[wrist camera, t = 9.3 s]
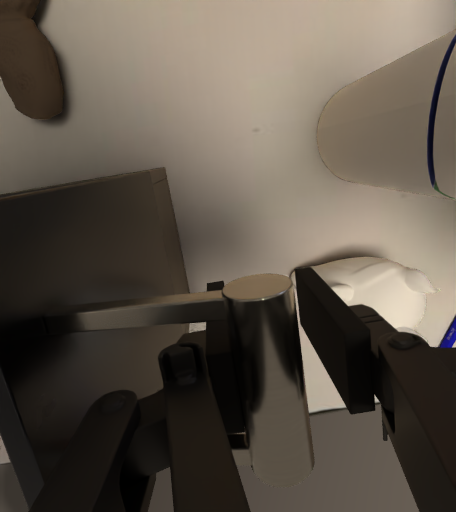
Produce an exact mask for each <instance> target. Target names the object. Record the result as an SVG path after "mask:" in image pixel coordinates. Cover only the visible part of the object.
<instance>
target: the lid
mask: <svg viewBox="0 0 456 512" xmlns="http://www.w3.org/2000/svg"><path fill="white" fill-rule="evenodd" d="M222 320H226V323H227V329H228V335H229V340H230V346H231V351H232V357H233V363H234V369H235V375H236V381H237V386H238V392H239V398H240V404H241V410H242V415H243V421H244V427H245V433H238V434H229V435H227V437H228V440H229V443H230V447H231V450H232V453H233V456H234V460H235V463H236V466H249V465H250V466H251V467H252V470H253V472H254V474H255V475H256V476H257V477H258V479H260V480H261V481H262V482H264V483H265V484H267V485H270V486H273V487H291V486H294V485H297V484H299V483H301V482H302V481H304V480H305V479H306V478H307V477H308V476H309V475H310V473H311V471H312V470H313V467H314V453H313V444H312V436H311V428H310V419H309V411H308V403H307V394H306V386H305V378H304V369H303V361H302V353H301V344H300V336H299V328H298V319H297V311H296V303H295V294H294V286H293V282H292V280H291V279H290V278H289V277H287V276H284V275H279V274H256V275H250V276H245V277H242V278H239V279H236V280H233V281H231V282H229V283H228V284H226V285H225V286H224V287H223V289H222V290H219V291H209V292H198V293H188V294H178V295H175V291H174V286H173V281H172V277H171V272H170V267H169V262H168V257H167V252H166V248H165V243H164V238H163V233H162V228H161V224H160V219H159V214H158V209H157V204H156V199H155V195H154V190H153V185H152V180H151V175H150V172H149V171H145V172H139V173H133V174H128V175H122V176H117V177H112V178H106V179H101V180H95V181H90V182H84V183H79V184H73V185H68V186H63V187H57V188H52V189H46V190H41V191H35V192H30V193H25V194H19V195H14V196H8V197H3V198H0V435H1V437H2V440H3V443H4V445H5V448H6V451H7V453H8V456H9V459H10V461H11V464H12V467H13V470H14V472H15V475H16V477H17V480H18V483H19V485H20V488H21V491H22V493H23V496H24V498H25V502H26V504H27V507H28V510H30V508H31V506H32V505H33V503H34V501H35V500H36V498H37V496H38V495H39V493H40V491H41V489H42V488H43V486H44V484H45V483H46V481H47V479H48V478H49V476H50V474H51V472H52V471H53V469H54V467H55V466H56V464H57V462H58V461H59V459H60V457H61V455H62V454H63V452H64V450H65V449H66V447H67V445H68V444H69V442H70V440H71V438H72V437H73V435H74V433H75V432H76V430H77V428H78V427H79V425H80V423H81V421H82V420H83V418H84V416H85V415H86V413H87V411H88V410H89V408H90V406H91V405H92V404H93V403H94V402H95V401H96V400H97V399H99V398H100V397H102V396H103V395H105V394H107V393H109V392H112V391H117V390H130V391H133V392H135V394H136V395H137V397H138V400H139V399H142V398H144V397H147V396H150V395H152V394H154V393H156V392H158V391H160V390H161V389H162V388H163V380H162V376H161V371H160V367H159V363H158V355H159V353H160V352H161V351H162V350H163V349H164V348H166V347H168V346H170V345H172V344H175V343H177V341H178V339H179V338H180V337H181V336H182V335H183V330H182V325H181V324H186V323H198V322H210V321H222Z"/></svg>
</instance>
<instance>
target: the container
mask: <svg viewBox="0 0 456 512" xmlns="http://www.w3.org/2000/svg"><path fill="white" fill-rule="evenodd" d="M317 144H318V150H319V153H320V156H321V158H322V160H323V162H324V163H325V165H326V166H327V168H328V169H329V170H330V171H331V172H332V173H333V174H335V175H336V176H337V177H339V178H341V179H343V180H346V181H348V182H353V183H359V184H364V185H370V186H376V187H382V188H387V189H393V190H399V191H404V192H410V193H416V194H422V195H428V196H434V197H440V198H445V199H451V200H456V29H455V30H453V31H452V32H450V33H448V34H446V35H444V36H442V37H440V38H438V39H436V40H434V41H432V42H430V43H428V44H426V45H424V46H423V47H421V48H419V49H417V50H415V51H413V52H411V53H409V54H407V55H405V56H403V57H401V58H399V59H397V60H396V61H394V62H392V63H390V64H388V65H386V66H384V67H382V68H380V69H378V70H376V71H374V72H372V73H370V74H368V75H367V76H365V77H363V78H361V79H359V80H357V81H355V82H353V83H351V84H349V85H347V86H345V87H344V88H342V89H341V90H339V91H338V92H337V93H336V94H335V95H334V96H333V97H332V98H331V99H330V100H329V102H328V103H327V104H326V106H325V108H324V109H323V112H322V114H321V117H320V119H319V123H318V128H317Z"/></svg>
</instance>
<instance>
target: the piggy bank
mask: <svg viewBox="0 0 456 512" xmlns="http://www.w3.org/2000/svg"><path fill="white" fill-rule="evenodd" d="M309 267H312V268H313V270H314V271H315V272H316V273H317V274H318V275H319V276H320V277H321V278H322V279H323V280H324V281H325V282H326V283H327V284H328V285H329V286H330V288H331V289H332V290H333V291H334V292H335V293H336V294H337V295H338V296H339V297H340V298H341V299H342V300H343V301H344V302H345V303H346V304H347V306H352V305H358V304H363V305H366V306H368V307H371V308H373V309H374V310H375V311H376V312H377V313H379V315H381V316H382V317H383V318H384V319H385V320H386V321H387V322H388V323H390V324H391V325H392V326H393V327H394V328H395V329H396V330H397V331H398V332H408V333H413V334H415V335H418V336H420V337H422V338H423V339H424V340H425V341H426V342H427V343H428V341H427V340H426V339H425V338H424V337H423V336H421V335H420V334H419V333H417V332H416V331H414V329H415V328H416V327H417V326H418V325H419V323H420V322H421V320H422V318H423V316H424V313H425V309H426V294H425V293H438V292H440V291H441V289H437V288H433V287H432V285H431V282H430V280H429V279H428V277H427V276H426V275H425V274H424V273H423V272H421V271H420V270H417V269H410V268H407V267H404V266H403V265H401V264H399V263H397V262H394V261H391V260H388V259H383V258H376V257H357V258H349V259H342V260H337V261H333V262H329V263H325V264H322V265H318V266H309ZM304 268H305V267H304ZM291 280H292V282H293V285H294V287H295V288H296V279H295V271H294V272H293V273H292V275H291ZM296 289H297V288H296Z"/></svg>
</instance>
